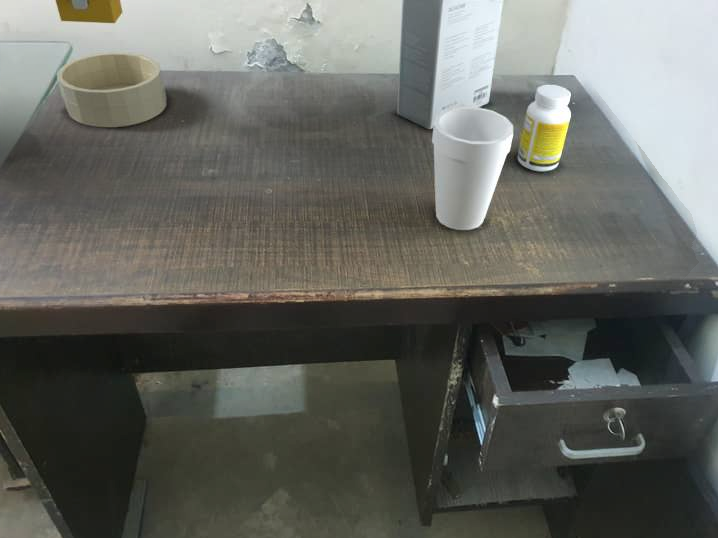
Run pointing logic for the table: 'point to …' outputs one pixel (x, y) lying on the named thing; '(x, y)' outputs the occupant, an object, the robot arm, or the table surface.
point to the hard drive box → (446, 56)
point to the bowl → (112, 89)
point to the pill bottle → (545, 128)
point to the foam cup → (468, 163)
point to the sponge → (90, 11)
